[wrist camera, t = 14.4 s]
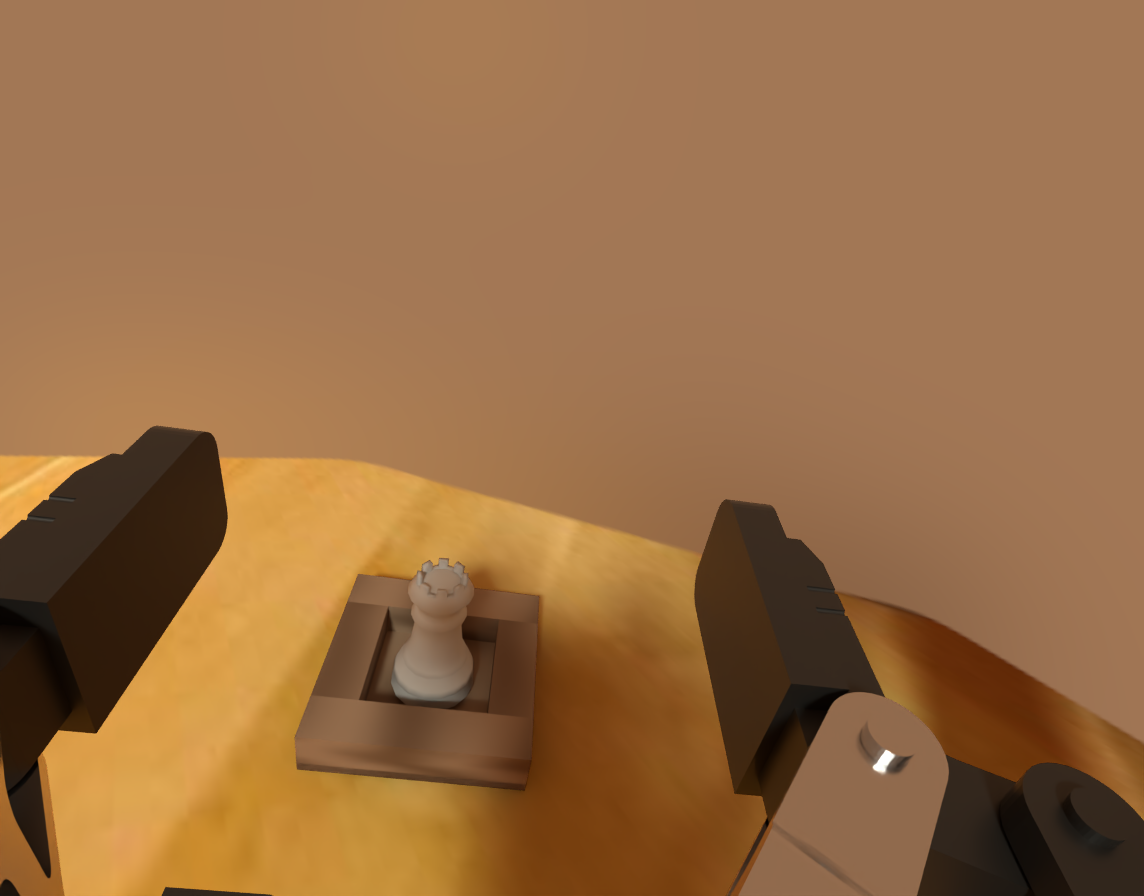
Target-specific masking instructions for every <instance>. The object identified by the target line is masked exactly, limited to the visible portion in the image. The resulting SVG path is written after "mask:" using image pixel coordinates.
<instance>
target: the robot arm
mask: <svg viewBox="0 0 1144 896" xmlns="http://www.w3.org/2000/svg"><path fill="white" fill-rule="evenodd" d="M227 519H228V515H227V506H226V499H225V493H224V487H223V480H222V474H221V468H220V461H219V455H218V449H217V444H216V441H215V438H214V437H213V435H212V434H211V433H209V432H202V431H194V430H186V429H179V428H171V427H163V426H154V427H152V428H150V429H149V430H147V431H146V432H145V433H144V434H143V435H142V436H141V437H140V438H139V439H138V440H137V441H136V442H135V443H134V444H133V445H132V446H131V447H130V448H129V449H128V450H126V451H125V452H124V453H123V454H122V455H119V454H110V455H108V456H106V457H104V458H102V459H100V460H98V461H96V462H94V463H92V464H90V465H88V466H86V467H84V468H82V469H80V470H78V471H76V472H74V473H73V474H72V475H71V476H70V477H69V478H68V479H67V480H65V481H64V482H63V483H62V484H61V485H60V486H59V487H58V488H57V489H55V490H54V491H53V492H52V493H51V494H50V495H49V500H43V501H42V502H41V503H40V504H39V505H38V506H37V507H36V508H34V509H33V510H32V511H31V512H30V513H29V514H28V518H27V520H21V521H20V522H19V523H18V524H17V525H16V526H15V527H13V528H12V529H11V530H10V531H9V532H8V533H7V534H6V535H5V536H3V537H2V538H1V539H0V896H64V891H63V884H62V877H61V870H60V862H59V854H58V847H57V839H56V832H55V824H54V817H53V809H52V802H51V794H50V787H49V779H48V772H47V765H46V761H45V758H44V756H43V754H42V752H43V751H44V749H45V748H46V746H47V745H48V744H49V742H50V741H51V739H52V738H53V737H54V735H55V734H56V733H57V731H58V730H62V731H73V732H85V733H97V732H98V730H99V729H100V727H101V726H102V724H103V723H104V721H105V720H106V718H107V717H108V715H109V714H110V712H111V711H112V709H113V708H114V706H115V705H116V703H117V702H118V700H119V699H120V697H121V696H122V694H123V693H124V691H125V690H126V688H127V687H128V685H129V684H130V682H131V681H132V679H133V678H134V676H135V675H136V673H137V672H138V670H139V669H140V667H141V666H142V664H143V663H144V661H145V660H146V658H147V657H148V655H149V654H150V652H151V651H152V650H153V648H154V647H155V645H156V644H157V642H158V641H159V639H160V638H161V636H162V635H163V633H164V632H165V630H166V629H167V627H168V626H169V624H170V623H171V621H172V620H173V618H174V617H175V615H176V614H177V612H178V611H179V609H180V608H181V606H182V605H183V603H184V602H185V600H186V599H187V597H188V596H189V594H190V593H191V591H192V590H193V588H194V587H195V585H196V584H197V582H198V581H199V579H200V578H201V576H202V575H203V573H204V572H205V570H206V569H207V567H208V566H209V564H210V563H211V561H212V560H213V558H214V557H215V555H216V554H217V552H218V551H219V549H220V547H221V545H222V542H223V540H224V536H225V533H226V528H227ZM834 591H835V588H834V586H833V584H832V582H831V580H830V577H829V575H828V573H827V571H826V569H825V567H824V564H823V563H822V562H821V561H820V560H819V559H818V558H817V557H816V556H815V555H814V554H813V553H812V551H811V550H810V549H809V548H808V547H807V546H806V545H805V544H804V543H803V542H802V541H801V540H798V539H789V538H787V537H786V535H785V533H784V530H783V528H782V525H781V523H780V521H779V518H778V516H777V513H776V511H775V509H774V508H773V507H772V506H771V505H766V504H757V503H749V502H742V501H734V500H724V501H723V502H722V503H721V505H720V507H719V509H718V512H717V515H716V517H715V520H714V523H713V526H712V529H711V532H710V535H709V538H708V541H707V543H706V546H705V549H704V552H703V555H702V558H701V561H700V564H699V567H698V570H697V574H696V580H695V594H694V595H695V607H696V612H697V617H698V621H699V626H700V631H701V636H702V641H703V645H704V650H705V655H706V660H707V664H708V669H709V674H710V679H711V683H712V688H713V693H714V698H715V702H716V707H717V712H718V717H719V721H720V726H721V731H722V736H723V740H724V745H725V750H726V755H727V759H728V764H729V769H730V774H731V778H732V783H733V788H734V793H735V794H744V795H755V796H762V797H763V801H764V805H765V809H766V813H767V818H766V819H765V821H764V823H763V824H762V826H761V828H760V830H759V832H758V834H757V836H756V838H755V840H754V842H753V844H752V845H751V847H750V849H749V851H748V853H747V855H746V857H745V859H744V861H743V863H742V865H741V867H740V869H739V871H738V873H737V874H736V876H735V878H734V880H733V882H732V884H731V886H730V888H729V890H728V892H727V894H726V896H1144V821H1143V819H1142V818H1141V817H1140V816H1139V815H1138V814H1137V813H1136V811H1135V810H1134V809H1133V808H1132V807H1131V806H1130V805H1129V804H1128V803H1127V802H1126V801H1125V800H1123V799H1122V798H1121V797H1120V796H1119V795H1117V794H1116V793H1115V792H1114V791H1113V790H1111V789H1110V788H1108V787H1107V786H1106V785H1104V784H1103V783H1101V782H1100V781H1098V780H1096V779H1095V778H1093V777H1091V776H1090V775H1088V774H1086V773H1083V772H1081V771H1079V770H1077V769H1074V768H1072V767H1069V766H1066V765H1061V764H1057V763H1041V764H1037V765H1035V766H1032V767H1031V768H1030V769H1029V770H1027V772H1026V773H1025V774H1024V775H1023V776H1022V777H1021V778H1020V779H1019V780H1018V781H1017V783H1016V782H1013V781H1010V780H1008V779H1005V778H1003V777H1000V776H997V775H995V774H992V773H990V772H987V771H984V770H982V769H979V768H977V767H974V766H972V765H969V764H966V763H964V762H961V761H959V760H956V759H954V758H952V757H949V756H947V755H945V753H944V751H943V749H942V747H941V745H940V743H939V741H938V740H937V738H936V737H935V735H934V734H933V733H932V732H931V730H930V729H929V728H928V727H927V726H926V725H925V724H924V723H923V722H922V721H921V720H920V719H919V718H918V717H917V716H915V715H914V714H913V713H912V712H910V711H909V710H907V709H906V708H904V707H903V706H901V705H900V704H898V703H896V702H894V701H892V700H890V699H887V698H885V696H884V694H883V692H882V690H881V688H880V685H879V683H878V681H877V679H876V677H875V675H874V672H873V670H872V668H871V666H870V664H869V662H868V660H867V657H866V655H865V653H864V651H863V649H862V647H861V644H860V642H859V640H858V638H857V636H856V634H855V631H854V629H853V627H852V625H851V623H850V621H849V618H848V616H845V615H844V611H845V610H844V608H843V606H842V603H841V601H840V599H839V597H838V595H837V594H835V593H834ZM162 896H272V895H267V894H253V893H239V892H225V891H211V890H198V889H184V888H170V887H165V889H164V892H163V894H162Z"/></svg>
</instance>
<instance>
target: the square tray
mask: <svg viewBox="0 0 1144 896" xmlns="http://www.w3.org/2000/svg"><path fill="white" fill-rule="evenodd" d="M410 582H411V580H404V579H395V578H387V577H379V576H371V575H363V574H358V576H357V578H356V581H355V584H354V586H353V589H352V591H351V594H350V596H349V599H348V602H347V604H346V607H345V609H344V612H343V614H342V617H341V620H340V622H339V625H338V627H337V630H336V632H335V635H334V638H333V640H332V643H331V645H330V648H329V650H328V653H327V656H326V658H325V661H324V663H323V666H322V668H321V671H320V674H319V676H318V679H317V681H316V684H315V686H314V689H313V692H312V694H311V697H310V699H309V702H308V704H307V707H306V710H305V712H304V715H303V717H302V720H301V722H300V725H299V728H298V730H297V733H296V735H295V748H296V763H297V769H299V770H310V771H321V772H332V773H342V774H353V775H364V776H375V777H385V778H396V779H407V780H417V781H428V782H439V783H450V784H460V785H471V786H482V787H493V788H503V789H514V790H525V785H526V781H527V777H528V773H529V768H530V764H531V759H532V738H533V716H534V695H535V674H536V652H537V631H538V610H539V596H535V595H527V594H518V593H510V592H502V591H494V590H486V589H477V588H474V596H473V598H472V600H471V601H470V603H469V604H468V605H467V606H466V607H467V617H466V618H465V620H464V622H463V623H462V639H463V640H464V642H465V644H466V645H467V647H468V649H469V651H470V653H471V655H472V657H473V685H472V687H471V689H470V691H469V693H468V695H467V697H465V698H464V699H463V700H462V701H460V702H459V703H458V704H457V705H456V706H454V707H451V708H448V709H439V708H430V707H420V706H411V705H406V704H404V703H403V702H402V701H401V700H400V699H399V698H398V697H397V696H396V695H395V692H394V689H393V687H392V684H391V679H392V672H393V667H394V660H395V657H396V655H397V653H398V652H399V650H400V649H401V647H402V646H403V645H404V643H406V642H407V640H408V639H409V637H411V634H412V630H413V626H414V623H415V622H414V620H413V617H412V615H411V610H412V605H413V604H414V603H413V602H412V601H411V599H410V597H409V594H408V587H409V583H410Z"/></svg>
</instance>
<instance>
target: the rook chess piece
mask: <svg viewBox="0 0 1144 896" xmlns="http://www.w3.org/2000/svg"><path fill="white" fill-rule="evenodd" d="M448 563H449V558H439V564H438V565H435V566H432V565H433V563H432V562H431V561H430V560H429V561H427V562H425V563H424V564H422V571H417V575H415V576H414V578H413V579H412V580H411V582H410V583H409V587H408V594H409V597H410V599H411V601H412V602H413V603H414V604H413V605H412V610H411V615H412V617H413V620H414V622H415V623H414V626H413V630H412V634H411V637H409V639H408V640H407V642H406V643H404V645H403V646H402V647H401V649H400V650H399V652H398V653H397V655H396V657H395V660H394V667H393V672H392V679H391V684H392V687H393V689H394V692H395V695H396V696H397V697H398V698H399V699H400V700H401V701H402V702H403V703H404V704H406V705H411V706H420V707H430V708H439V709H448V708H451V707H454V706H456V705H457V704H458V703H459V702H460V701H462V700H463V699H464V698H465V697H467V695H468V693H469V691H470V689H471V687H472V685H473V657H472V655H471V653H470V651H469V649H468V647H467V645H466V644H465V642H464V640H463V639H462V623H463V622H464V620H465V618H466V617H467V607H466V606H467V605H468V604H469V603H470V601H471V600H472V598H473V596H474V586H473V584H472V582H471V580H470V578H469V577H468V573H464V568H465V566H463V565H462V564H461V563H459V562H457V563H456V564H455V565H454V567H452V566H449V565H448Z"/></svg>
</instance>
